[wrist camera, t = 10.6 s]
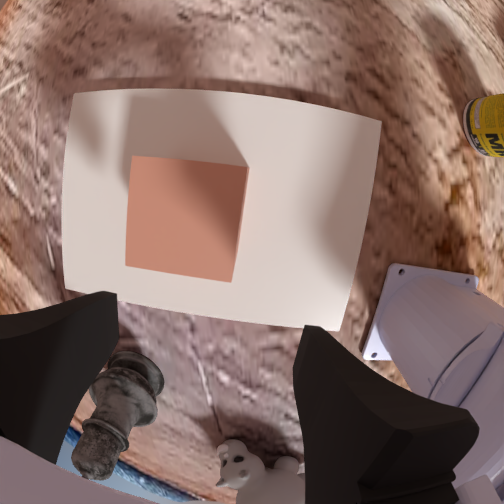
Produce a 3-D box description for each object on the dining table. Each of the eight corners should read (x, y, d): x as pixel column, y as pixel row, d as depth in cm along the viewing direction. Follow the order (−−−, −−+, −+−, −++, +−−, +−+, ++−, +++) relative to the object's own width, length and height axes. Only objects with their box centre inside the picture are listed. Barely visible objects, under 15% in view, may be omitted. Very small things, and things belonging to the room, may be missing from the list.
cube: (249, 167, 17) (247, 166, 12) (237, 251, 18) (231, 282, 13) (165, 158, 16) (132, 155, 12) (157, 240, 18) (125, 265, 13)
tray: (372, 124, 17) (381, 121, 16) (334, 320, 21) (339, 331, 19) (84, 96, 16) (73, 93, 15) (74, 281, 20) (65, 288, 19)
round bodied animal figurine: (263, 407, 27) (239, 454, 18) (327, 479, 24) (322, 531, 16) (211, 434, 28) (176, 477, 19) (274, 500, 26) (258, 548, 17)
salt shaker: (100, 341, 22) (27, 441, 10) (166, 355, 22) (115, 479, 10) (110, 391, 23) (59, 488, 12) (169, 405, 23) (135, 516, 12)
